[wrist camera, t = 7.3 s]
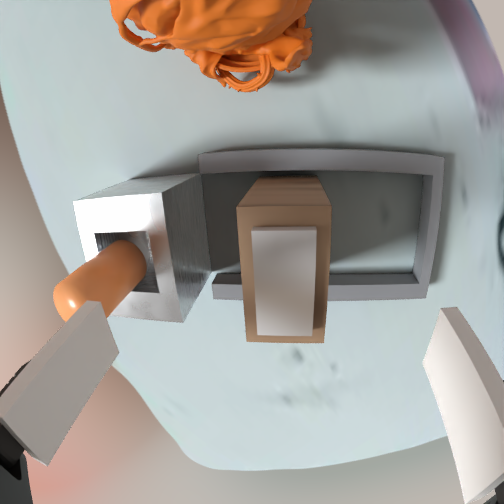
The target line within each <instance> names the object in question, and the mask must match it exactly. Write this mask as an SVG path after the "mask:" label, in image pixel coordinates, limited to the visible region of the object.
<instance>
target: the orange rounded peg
mask: <svg viewBox="0 0 504 504" xmlns="http://www.w3.org/2000/svg"><path fill="white" fill-rule="evenodd" d="M146 270H147V264H146V260H145V257H144V255H143V253H142V252H141V250H140V249H139V248H138V247H137V246H136V245H135V244H133V243H132V242H129V241H127V240H117V241H115V242H113V243H112V244H110V245H109V246H108V247H106V248H105V249H103V250H102V251H101V252H99V253H98V254H97V255H95V256H94V257H93V258H91V259H90V260H88V261H87V262H86V263H84V264H83V265H82V266H81V267H79V268H78V269H77V270H75V271H74V272H73V273H71V274H70V275H69V276H68V277H67V278H65V279H64V280H62V281H61V282H60V283H59V284H58V285H56V287H55V289H54V294H53V295H54V302H55V306H56V308H57V310H58V312H59V314H60V315H61V317H62V318H63V319H64V321H65V322H67V321H68V319H69V318H70V317H71V316H72V315H73V314H74V313H75V312H76V311H77V310H78V309H79V308H80V307H81V306H82V305H83V304H84V303H85V302H86V301H87V300H88V301H98V302H101V304H102V307H103V310H104V313H105V316H106V319H107V317H108V316H109V315H110V314H111V313H112V312H113V311H114V310H115V308H116V307H117V306H118V305H119V304H120V303H121V302H122V301H123V300H124V298H125V297H126V296H127V295H128V294H129V293H130V292H131V291H132V290H133V289H134V288H135V286H136V285H137V284H138V283H139V282H140V281H141V280H142V279H143V278H144V276H145V274H146Z"/></svg>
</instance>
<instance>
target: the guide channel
mask: <svg viewBox="0 0 504 504" xmlns="http://www.w3.org/2000/svg"><path fill="white" fill-rule="evenodd" d="M198 162H199V174H209V173H226V172H247V171H280V170H341V171H373V172H393V173H409V174H423V188H422V201H421V212H420V222H419V231H418V239H417V246H416V253H415V259H414V266H413V271H412V274H329V286H328V300H327V301H361V300H397V299H422V298H426V295H427V290H428V286H429V281H430V276H431V271H432V266H433V261H434V255H435V249H436V243H437V236H438V229H439V221H440V213H441V203H442V192H443V178H444V157H441V156H436V155H430V154H420V153H410V152H397V151H383V150H364V149H334V148H286V149H255V150H236V151H221V152H208V153H202V154H199V155H198ZM212 291H213V299H224V300H243V291H242V278H241V274H217V275H216V277H215V279H214V280H213V282H212Z"/></svg>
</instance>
